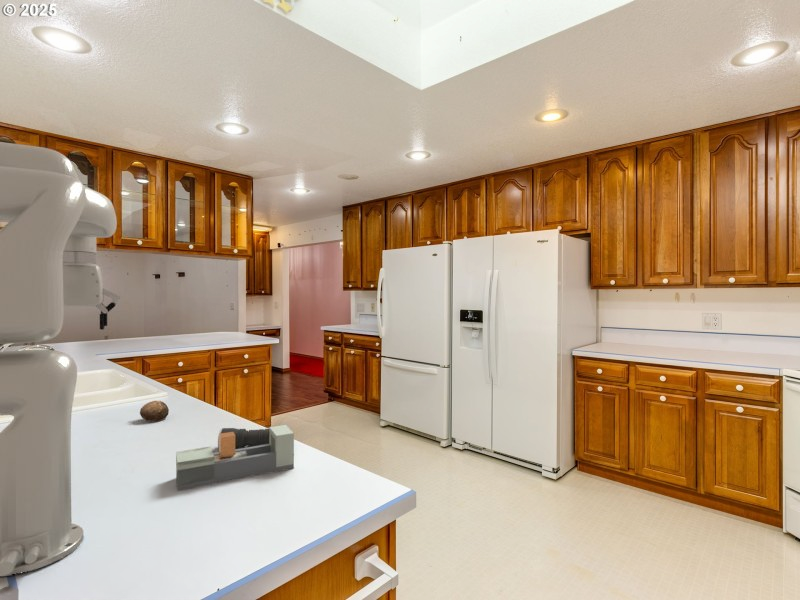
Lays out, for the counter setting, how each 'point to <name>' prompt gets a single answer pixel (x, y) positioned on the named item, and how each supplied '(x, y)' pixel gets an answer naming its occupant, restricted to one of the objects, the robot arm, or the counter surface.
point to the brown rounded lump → (154, 411)
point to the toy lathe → (236, 461)
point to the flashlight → (247, 437)
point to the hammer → (228, 447)
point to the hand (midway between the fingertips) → (78, 329)
